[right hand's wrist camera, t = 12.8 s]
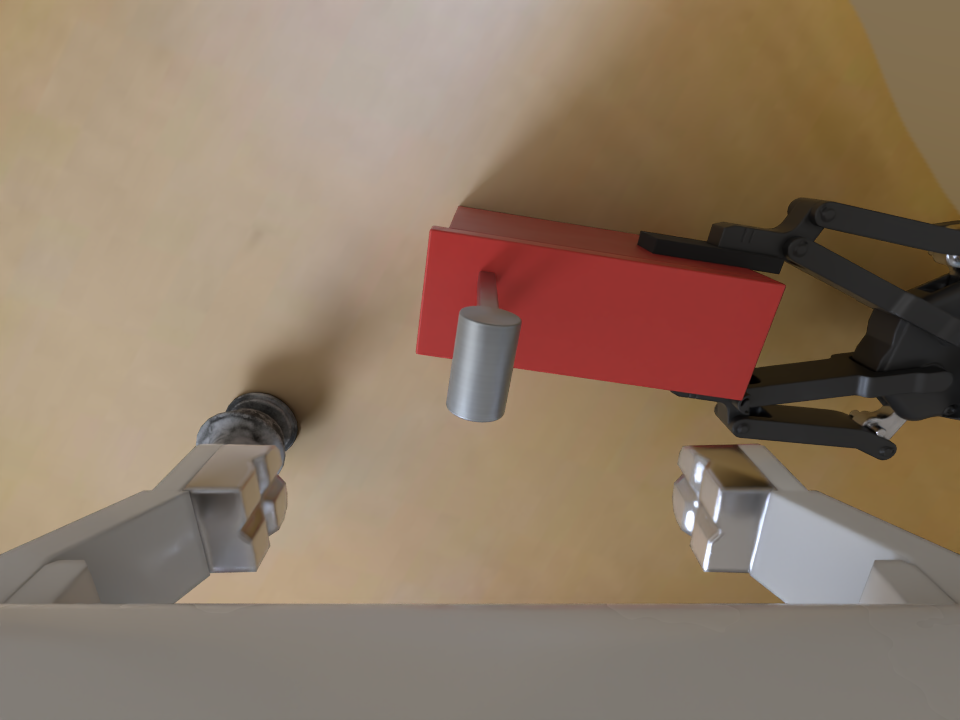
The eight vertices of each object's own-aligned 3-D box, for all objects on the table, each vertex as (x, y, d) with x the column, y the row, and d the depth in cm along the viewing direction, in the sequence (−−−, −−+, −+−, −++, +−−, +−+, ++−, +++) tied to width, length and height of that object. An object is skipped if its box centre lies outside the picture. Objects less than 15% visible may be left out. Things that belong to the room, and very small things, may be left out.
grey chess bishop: (231, 376, 36) (122, 474, 25) (311, 407, 37) (240, 515, 26) (212, 442, 38) (103, 560, 27) (288, 469, 39) (213, 594, 28)
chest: (446, 293, 34) (433, 347, 25) (458, 205, 32) (448, 227, 23) (662, 325, 35) (730, 390, 26) (687, 242, 33) (772, 278, 23)
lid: (418, 345, 25) (385, 445, 16) (432, 225, 22) (402, 267, 14) (731, 390, 25) (856, 508, 17) (773, 278, 23) (939, 349, 15)
